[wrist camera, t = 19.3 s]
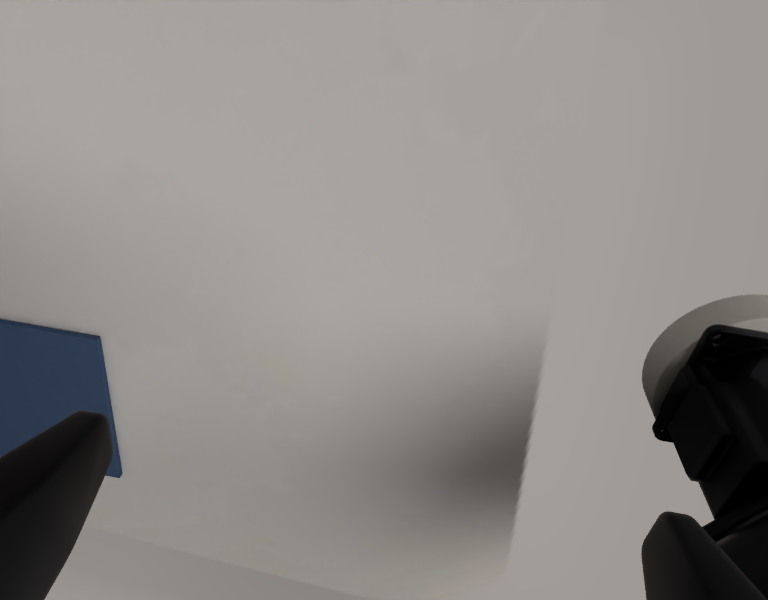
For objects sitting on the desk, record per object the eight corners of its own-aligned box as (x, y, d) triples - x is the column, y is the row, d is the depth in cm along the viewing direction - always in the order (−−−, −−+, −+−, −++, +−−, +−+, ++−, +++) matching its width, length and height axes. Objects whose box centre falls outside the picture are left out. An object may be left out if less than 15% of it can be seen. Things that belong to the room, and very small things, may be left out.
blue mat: (100, 336, 26) (97, 340, 26) (122, 473, 31) (119, 478, 30) (-102, 301, 26) (-108, 304, 26) (-48, 443, 31) (-52, 448, 31)
